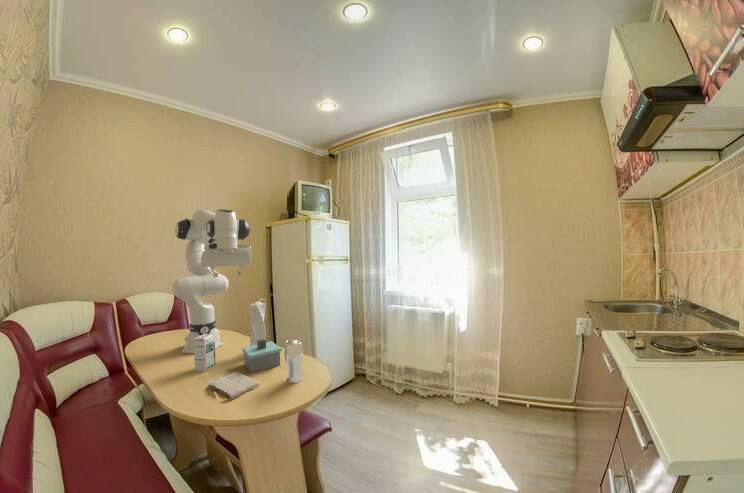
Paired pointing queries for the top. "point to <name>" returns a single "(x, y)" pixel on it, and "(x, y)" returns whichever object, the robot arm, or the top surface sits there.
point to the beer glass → (294, 360)
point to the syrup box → (204, 352)
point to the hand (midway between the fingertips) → (227, 276)
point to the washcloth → (233, 385)
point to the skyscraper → (257, 321)
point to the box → (262, 362)
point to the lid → (261, 349)
